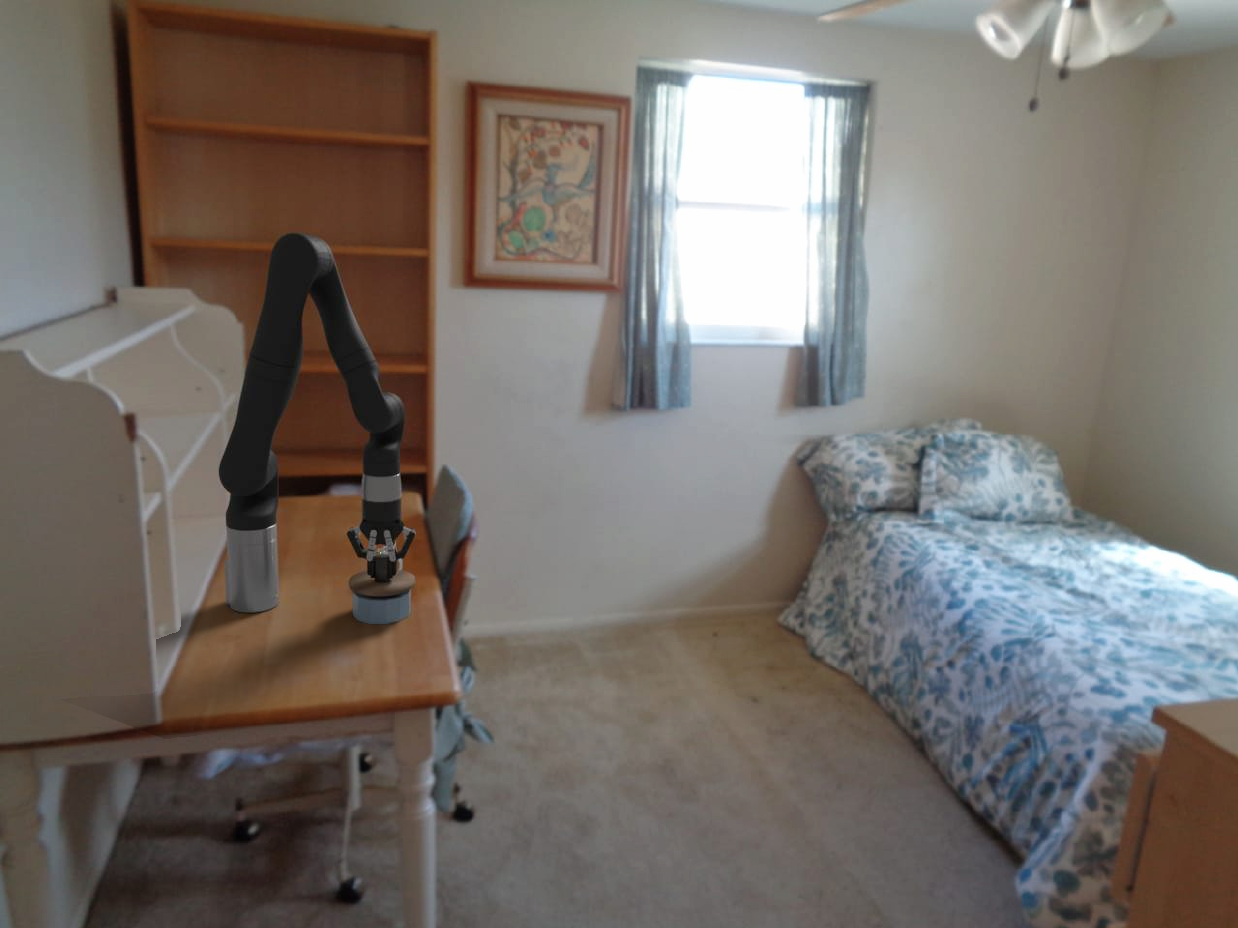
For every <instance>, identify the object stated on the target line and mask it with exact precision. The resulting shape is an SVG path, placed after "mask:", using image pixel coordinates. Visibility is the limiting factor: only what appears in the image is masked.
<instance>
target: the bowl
mask: <svg viewBox="0 0 1238 928" xmlns="http://www.w3.org/2000/svg"><path fill="white" fill-rule="evenodd" d="M411 590H412V589H410V590H409V591H406V592H404V593H401V594H397V595H391V596H366V595H361V594H358V593H355V592H353V591H352V616H353V617H354V618H355V619H356V620H357V621H359V622H362V623H365V624H370V625H388V624H393V623H396V622H401V621H403V620H405V619H406V618H407V617H409V616H410V615H411V603H412V602H411V599H412V597H411V595H412V594H411V592H412V591H411Z"/></svg>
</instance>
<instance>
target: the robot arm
mask: <svg viewBox="0 0 1238 928" xmlns="http://www.w3.org/2000/svg"><path fill="white" fill-rule="evenodd" d="M268 264H269V265H268V271H267V279H266V286H265V294H264V299H263V304H262V307H261V312H260V315H259V319H258V323H257V325H256V330H255V334H254V338H253V341H252V345H251V348H250V351H249V356H248V360H247V363H246V367H245V372H244V376H243V382H242V386H241V389H240V390H241V391H240V395H239V399H238V405H237V411H236V412H237V413H236V417H235V421H234V425H233V428H232V430H231V433H230V437H228V438H229V439H228V442H227V444H226V446H225V449H224V452H223V454H222V457H221V459H220V462H219V465H218V478H219V481H220V484H221V485H222V487H223V489H225V491H226V492H228V493H229V494H230V495H229V496H230V497H229V502H228V506H227V508H226V512H225V525H226V526H225V528H226V545H227V547H226V548H227V549H226V550H227V558H225V559H224V579H225V580H224V581H225V597H226V598H225V601H226V602H225V604H226V605H229V607H230V608H231V610H233V611H235V612H240V613H248V614H249V613H259V612H264V611H265V612H266V611H268V610H270V609H274V608H275V607H277V606H278V605H279V603H280V593H279V591H280V590H279V587H280V585H279V582H280V581H279V561H278V560H279V559H278V557H279V556H278V532H277V531H278V530H277V513H278V509H279V497H280V496H279V495H280V494H279V492H280V491H279V489H280V488H279V487H280V485H279V483H280V482H279V477H280V476H279V475H280V474H279V463H278V459H277V456H276V454H275V453H274V451H273V450H272V445H273V440H274V437H275V436H274V435H275V434H276V430H277V428H278V425H279V423H280V421H281V420H282V418H283V415H284V414H285V411H286V409H287V407H288V405H289V403H290V402H291V399H292V396H293V395H294V391H295V389H296V385H297V383H298V379H299V376H300V375H299V374H300V372H301V367H302V364H303V357H304V336H303V315H304V311H305V310H304V309H305V306H306V303H307V299H308V295H309V296H310V298H311V299H312V301H313V303H314V305H315V308H316V309H317V312H318V314H319V318H320V320H321V324H322V327H323V332H324V336H325V340H326V344H327V348H328V351H329V353H330V355H331V358H332V359H333V362H334V364H335V366H336V368H337V370H338V372H339V373H340V376H341V378H342V379H343V381H344V382H345V385H346V390H347V394H348V398H349V402H350V405H351V409H352V412H353V415H354V417H355V419H356V421H357V423H358V424H359V425H360V426H361V427H362V428H363V429H364V430H365V432H368V433H369V438H368V441H367V442H366V443H365V444H364V447H363V450H362V479H361V490H360V491H361V493H360V495H361V522H360V524H359V525H358V526H356V527H350V528H349V529H348V530H347V532H346V536H347V539H348V540H349V542H350V544H351V546H352V548H353V550H354V552H355V554H356V557H357V558H358V559H362V558H363V559H364V560H366V568H367V569H366V570H367V574H368V575H371V578H375V561H374V555H375V552H376V549H377V546H379V545H383V546H387V551H388V553H389V554H388V555H389V558H390V560H389V578H393V576H395V575H396V572H397V569H398V559H402V560H403V559H405V557H406V556H407V553H408V551H409V549H410V548H411V545H412V543H413V541H414V539H415V536H416V533H417V530H416V529H415V528H408V527H406V526H405V524H404V522H403V520H402V480H401V479H402V478H401V455H400V454H401V453H400V452H401V451H400V450H401V446H402V445H401V444H402V441H403V435H404V429H405V423H406V410H405V405H404V403H403V401H402V400H401V398H400V397H399V396H398V395H396V394H395V393H393V392H389V391H386V392H384V391H382V387H381V385H380V382H379V378H380V376H381V369H380V365H379V364H378V362H377V359H376V357H375V355H374V354H373V351H372V349H371V347H370V346H369V344H368V342H367V340H366V338H365V336H364V334H363V332H362V329H361V327H360V326H359V324H358V323H359V322H358V321H357V319H356V316H355V315H354V312H353V309H352V307H351V305H350V302H349V300H348V296H347V295H346V291H345V288H344V286H343V283H342V280H341V277H340V273H339V270H338V267H337V266H338V265H337V263H336V260H335V258H334V254H333V252H332V250H331V248H330V246H329V244H328V243H326V241H324V240H323V239H322V238H320V237H318V236H316V235H312V234H306V233H301V232H289V233H286V234H284V235H282V236H281V237H279V238H278V240H276V242H275V243H274V245H273V247H272V249H271V252H270V257H269V263H268ZM361 533H362V534H363V536H364V537H365V538H366V539H367V541H368V545H367V549H366V548H365V546H364V544H363V543H362V540H361V538H360V536H361ZM401 533H402V534H403V539H404V540H405V541H404V543H403V544H402V547H401V549H400V550H397V542H396V540H397V539H398V538H399V536H400V535H401Z"/></svg>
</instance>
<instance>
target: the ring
mask: <svg viewBox="0 0 1238 928" xmlns="http://www.w3.org/2000/svg"><path fill="white" fill-rule="evenodd" d="M379 554H387V555H389V553H388V551H387V546H386V545H383V546H382V547H380V548H379V547H378V548H377V550H375V555H374V557H375V556H376V555H379ZM397 562H398V566H399V567H398V569H399V570H403V566H404V565H403V564H404V562H403V559H398V560H397Z"/></svg>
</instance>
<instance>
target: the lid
mask: <svg viewBox="0 0 1238 928" xmlns="http://www.w3.org/2000/svg"><path fill="white" fill-rule="evenodd" d="M378 554H379V553H378ZM389 560H390V558H389V554H379V555H376V556H375V557H374V561H375V578H371V575H368V574H367V569H366V570H364V571H360V572H358V573H355V574H353V575H352V576H351V577H350V578H348V588H349V590H351V592H352V593H353V592H355V593H358V594H361V595H366V596H391V595H397V594H401V593H404V592H406V591H409V590H410V589H411V590H412V589H413V588H414V587H415V585H416V576H415V575H414V574H413V573H411V572H409V571H406V570H403V569H402V570H399V568H397V572H396V575H395V576H393V578H389Z"/></svg>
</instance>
